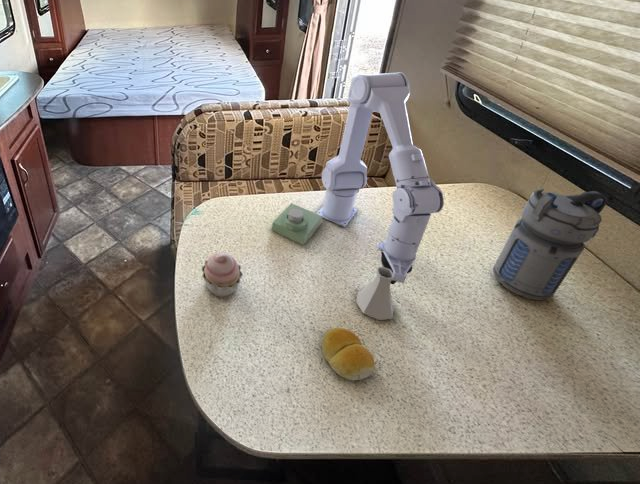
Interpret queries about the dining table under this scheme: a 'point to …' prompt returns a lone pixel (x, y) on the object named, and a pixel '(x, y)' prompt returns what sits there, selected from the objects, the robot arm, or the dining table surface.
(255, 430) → the dining table surface
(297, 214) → the grey short cylinder
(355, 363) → the bread roll
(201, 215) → the dining table surface
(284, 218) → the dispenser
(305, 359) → the dining table surface
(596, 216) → the beverage bottle
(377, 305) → the flask
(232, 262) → the cupcake
